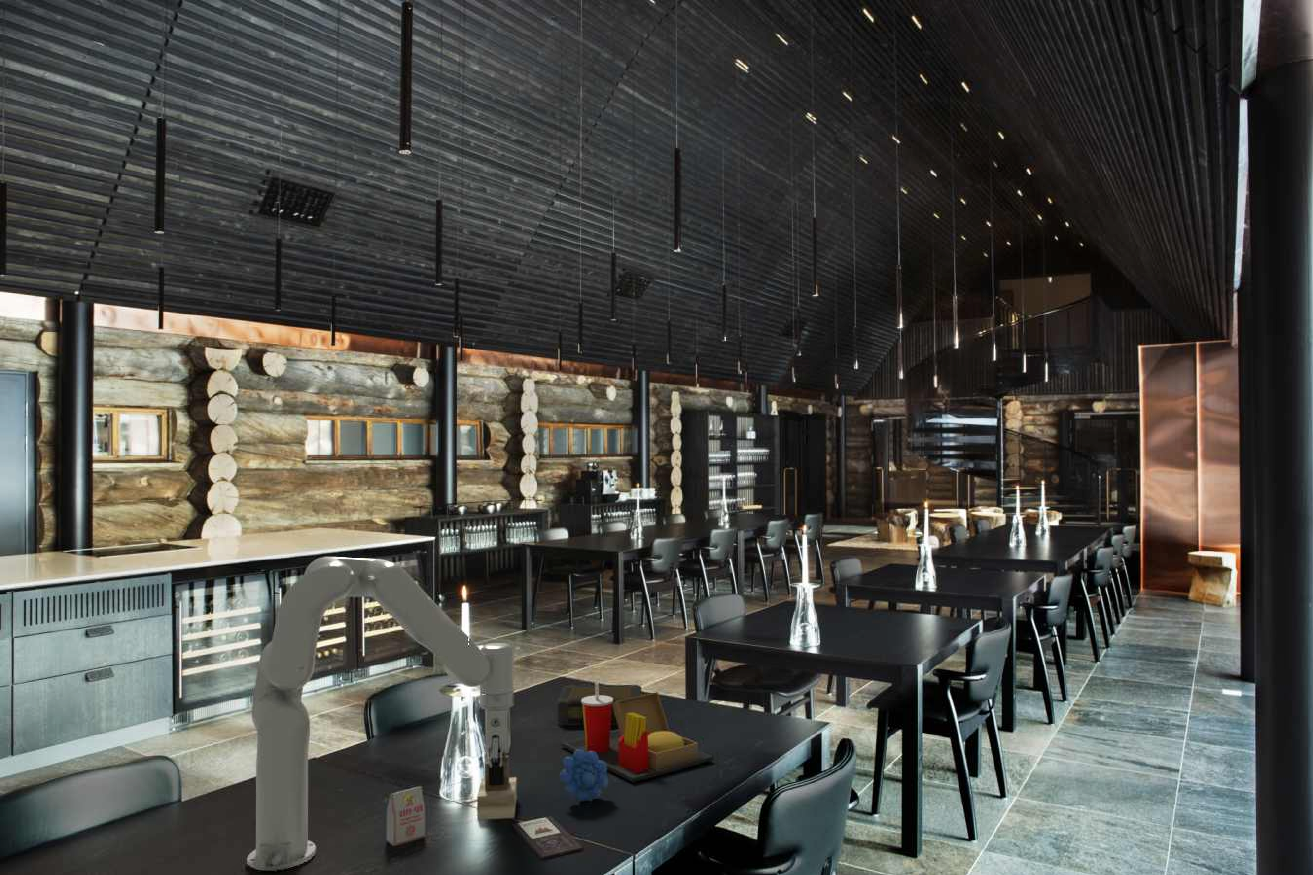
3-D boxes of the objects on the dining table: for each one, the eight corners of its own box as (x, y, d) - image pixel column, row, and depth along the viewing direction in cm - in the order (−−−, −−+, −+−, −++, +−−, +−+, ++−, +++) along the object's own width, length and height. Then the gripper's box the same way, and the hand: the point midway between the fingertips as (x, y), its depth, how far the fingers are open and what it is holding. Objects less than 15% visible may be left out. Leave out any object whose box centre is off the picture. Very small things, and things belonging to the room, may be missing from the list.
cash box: (641, 707, 276) (641, 683, 276) (639, 726, 256) (639, 700, 256) (564, 708, 276) (564, 684, 277) (556, 727, 256) (556, 701, 256)
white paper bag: (386, 840, 178) (386, 791, 178) (417, 831, 182) (417, 783, 182) (393, 846, 175) (393, 796, 175) (424, 836, 179) (424, 788, 180)
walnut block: (507, 789, 191) (507, 762, 192) (485, 791, 191) (485, 764, 191) (509, 781, 196) (508, 755, 197) (487, 783, 196) (486, 756, 196)
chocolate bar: (541, 857, 168) (511, 824, 184) (541, 862, 168) (512, 828, 184) (583, 847, 172) (551, 815, 188) (583, 852, 172) (551, 820, 188)
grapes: (566, 811, 191) (565, 757, 192) (557, 801, 197) (556, 748, 198) (614, 803, 196) (614, 750, 196) (604, 793, 202) (604, 741, 203)
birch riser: (514, 817, 188) (514, 794, 189) (477, 819, 188) (477, 796, 188) (516, 798, 199) (516, 776, 200) (481, 800, 198) (481, 778, 199)
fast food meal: (632, 786, 208) (631, 709, 208) (561, 749, 236) (560, 681, 237) (713, 764, 222) (712, 692, 223) (636, 731, 251) (636, 668, 251)
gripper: (511, 708, 186) (512, 792, 186) (515, 688, 203) (515, 765, 203) (476, 710, 185) (476, 794, 185) (483, 690, 202) (483, 767, 202)
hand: (497, 778), depth 194 cm, fingers open, 5 cm apart
